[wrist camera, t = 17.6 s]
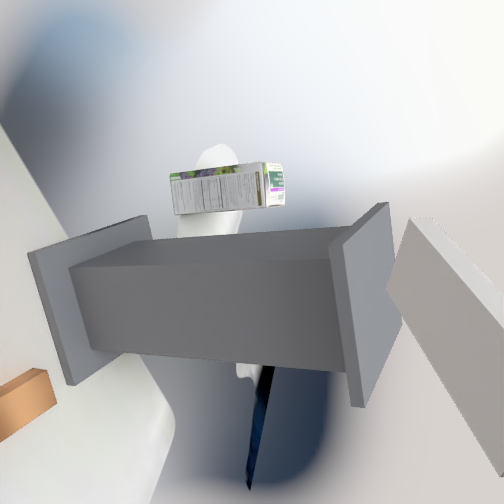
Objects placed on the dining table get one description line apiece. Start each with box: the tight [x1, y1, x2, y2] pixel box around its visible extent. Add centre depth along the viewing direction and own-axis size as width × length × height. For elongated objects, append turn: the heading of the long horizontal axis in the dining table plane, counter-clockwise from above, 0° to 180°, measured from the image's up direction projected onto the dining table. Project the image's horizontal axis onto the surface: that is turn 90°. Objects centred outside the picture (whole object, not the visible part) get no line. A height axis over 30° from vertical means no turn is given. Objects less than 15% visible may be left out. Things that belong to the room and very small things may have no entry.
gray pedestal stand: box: [27, 202, 402, 408], centre depth 45 cm, size 16×14×30 cm
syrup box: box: [170, 162, 285, 215], centre depth 62 cm, size 6×6×14 cm
